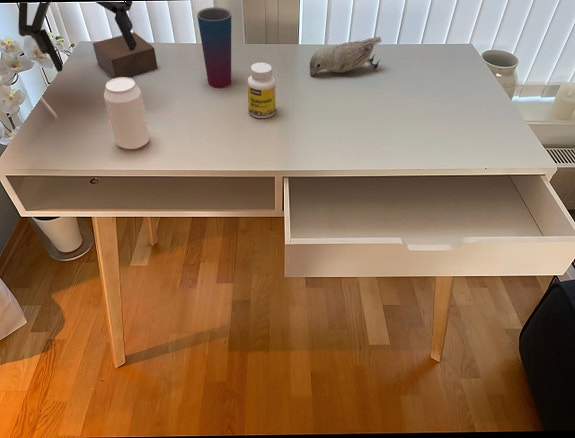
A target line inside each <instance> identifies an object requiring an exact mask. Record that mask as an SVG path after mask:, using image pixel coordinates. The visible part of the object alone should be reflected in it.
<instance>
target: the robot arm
mask: <svg viewBox="0 0 575 438" xmlns="http://www.w3.org/2000/svg"><path fill="white" fill-rule="evenodd" d="M28 3H29V2H28ZM28 3H19V2H18V25H17V26H18V28H17V29H18V34H19V36H21V37H25V36H30V37H31V38H32V39H34V42H35V43H36V45H37V47H38V49H39V51H40V53H41V54H43V55H45V54H48V56H49V57H50V60H51V62H52V64H53V65H54V68H55V70H56V72H57V73H59V72H62V71H63V69H64V68H63V67H64V64H63V62H62V60H61V58H60V56H59V54H58V52H57V49H56V48H55V46H54V44H53V42H52V40H51V39H50V36H49V34H48V32H47V29H46V28H43V24H44V22H45V19H46V16H47V12H48V9H49V6H50V5H51V2H46V3H40V2H39V3H38V5H37V8H36V11H35V15H34V17H33V20H32V23H31V24H28V7H29V4H28ZM95 3H96V4H98V5H99V6H101V7H102V8H105V9H106V10H108V11H110V12H111V13H113V14H115V16H114V21H115V23H116V25H117V27H118V29H119V31H120V33H121V35H123V37H124V39H125V41H126V43H127V45H128V47H129V50H130V51H133V50H134V49H135V47H136V45H137V43H136V41H135V39H134V37H133V35H132V33H133V32H132V30H133V27H134V26H133V22H132V20H131V18H130V16H129V14H128V11H130V10H131V8H132V5H133V0H132V1H126V2H125V1H124V2H95ZM42 28H43V29H42Z"/></svg>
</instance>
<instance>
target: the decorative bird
mask: <svg viewBox="0 0 575 438" xmlns="http://www.w3.org/2000/svg"><path fill="white" fill-rule="evenodd" d="M380 43H382V37H381V36H377V37H376V36H374V37H371V38H366V39H364V40H358V41H349V42H344V43H340V44H338V45H334V46H331V47H324V48H320V49H318V50H316V51H315V52H314V53H313V55H312V56H311V58H310V62H309V75H310V76H311V77H312V76H313V75H315V74H317V73H318V72H320V71H324V70H327V71H328V72H332V73H345V72H348V71H351V70H354V69H356V68H359V67H362V66H363V65H364V64H366V63H368V66H370V65H371V67H372V69H373V71H375V72H377V69H378V67H379V62H380V61H381V59H378V60H377V62H376V63H373V62H374V57H375V55H372V53H373V50H374V46H376V45H378V44H380ZM371 55H372V57H371Z"/></svg>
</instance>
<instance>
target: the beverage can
mask: <svg viewBox="0 0 575 438" xmlns="http://www.w3.org/2000/svg"><path fill="white" fill-rule="evenodd" d="M103 99H104V102H105V106H106V111H107V114H108V119H109V122H110V126H111V129H112V133H113V137H114V141H115V144H116V145H117V146H118V147H120V148H122V149H125V150H137V149H141V148H142V147H143V146H145V145H146V144H147V143H149V141H150V137H151V136H150V130H149V125H148V121H147V120H148V119H147V114H146V109H145V105H144V100H143V95H142V89H141V88H140V87H139V86H138V85H137V84H136V81H135V80H134V79H133V78H131V77H129V78H127V77H119V78H114V79H113V78H111V79H109V80H108V81H107V82H106V83H105V90H104V93H103Z"/></svg>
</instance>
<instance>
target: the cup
mask: <svg viewBox="0 0 575 438" xmlns="http://www.w3.org/2000/svg"><path fill="white" fill-rule="evenodd" d="M196 18H197V24H198V28H199V35H200V41H201V48H202V54H203V59H204V65H205V66H204V67H205V71H206V78H207V84H208V85H209V86H210V87H212V88H216V89H222V88H226V87H229V86H230V85H231V84H232V11H230V9H227V8H225V7H218V6H217V7H216V6H214V7H213V6H212V7H206V8H203V9H200V10H199V11H197V13H196Z"/></svg>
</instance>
